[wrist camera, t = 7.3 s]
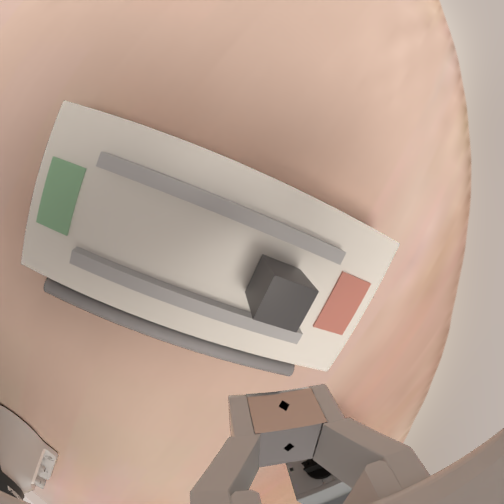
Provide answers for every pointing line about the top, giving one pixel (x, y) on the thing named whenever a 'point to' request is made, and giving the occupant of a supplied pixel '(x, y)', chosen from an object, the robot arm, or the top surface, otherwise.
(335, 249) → the white slider track board
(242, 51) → the top surface
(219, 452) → the robot arm
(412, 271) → the top surface
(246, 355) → the long gray rail
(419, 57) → the top surface
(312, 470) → the circuit breaker
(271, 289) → the breaker toggle
